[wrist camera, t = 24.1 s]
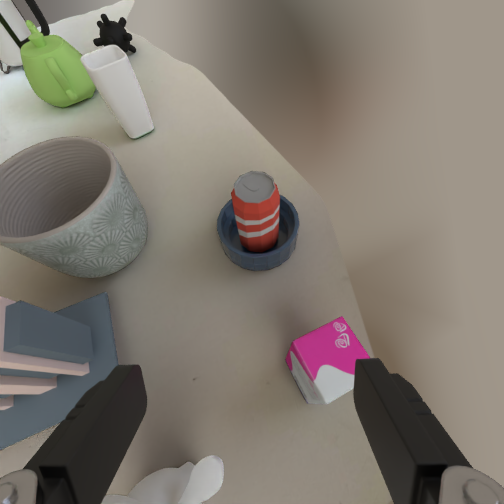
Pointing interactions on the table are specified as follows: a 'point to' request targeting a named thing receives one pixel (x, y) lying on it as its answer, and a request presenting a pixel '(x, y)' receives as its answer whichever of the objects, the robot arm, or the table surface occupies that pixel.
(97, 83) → the cup
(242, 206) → the beverage can
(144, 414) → the robot arm
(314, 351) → the supplement box
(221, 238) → the bowl
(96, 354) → the desk lamp
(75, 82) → the teapot
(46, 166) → the planter
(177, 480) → the figurine
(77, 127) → the table surface
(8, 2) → the coffee press
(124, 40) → the toy ball
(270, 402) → the table surface
